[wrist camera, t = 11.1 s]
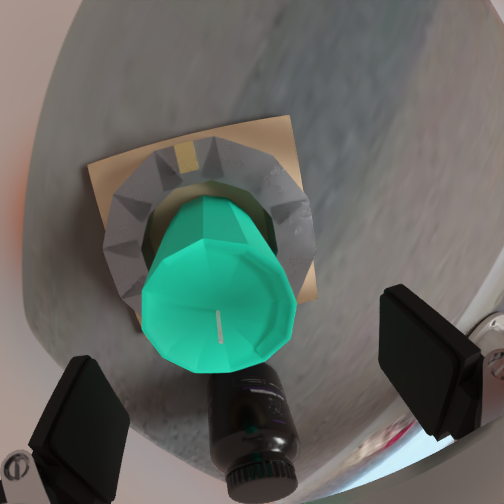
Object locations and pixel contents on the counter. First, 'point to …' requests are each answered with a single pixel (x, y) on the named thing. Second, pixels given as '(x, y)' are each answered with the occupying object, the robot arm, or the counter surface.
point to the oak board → (247, 133)
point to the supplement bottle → (252, 434)
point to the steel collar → (196, 171)
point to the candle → (216, 291)
